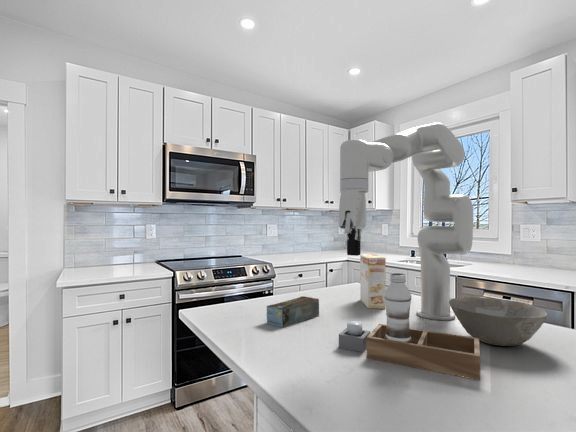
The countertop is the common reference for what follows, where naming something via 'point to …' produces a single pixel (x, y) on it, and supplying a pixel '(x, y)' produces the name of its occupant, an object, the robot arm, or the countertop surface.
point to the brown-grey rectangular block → (292, 311)
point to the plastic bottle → (398, 309)
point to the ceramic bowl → (498, 319)
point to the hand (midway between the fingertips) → (353, 255)
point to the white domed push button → (354, 328)
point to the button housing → (353, 341)
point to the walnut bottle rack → (428, 351)
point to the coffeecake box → (372, 280)
